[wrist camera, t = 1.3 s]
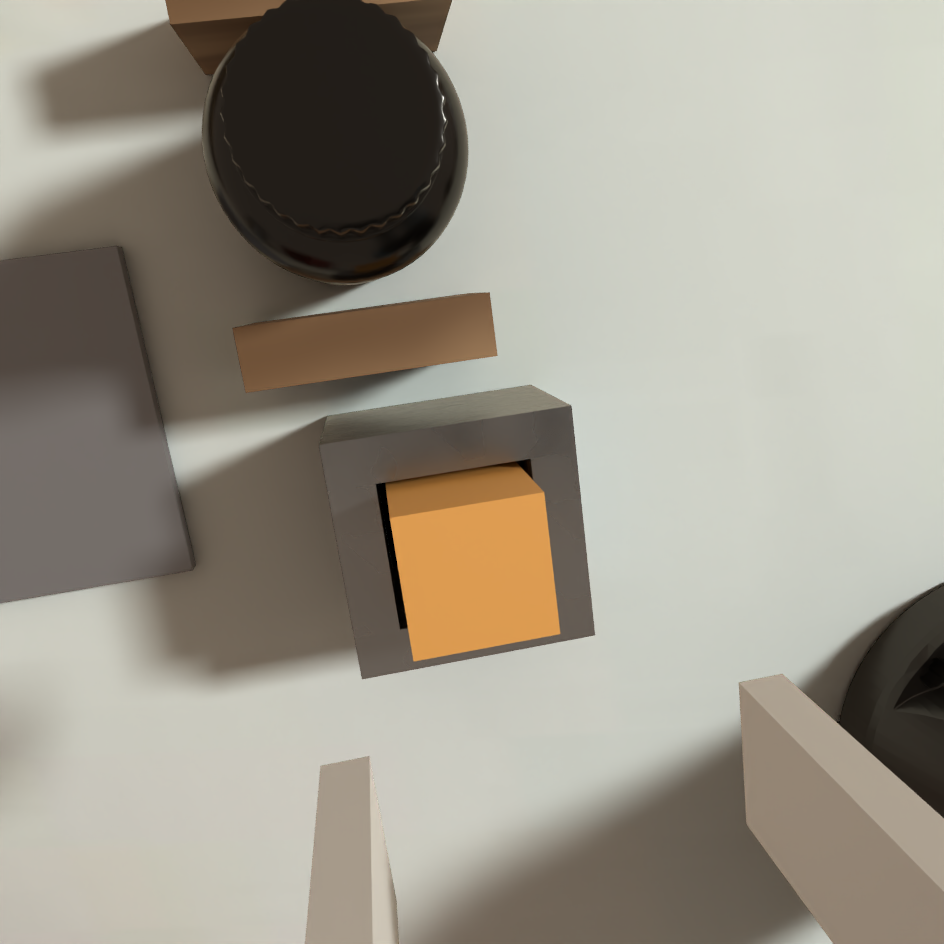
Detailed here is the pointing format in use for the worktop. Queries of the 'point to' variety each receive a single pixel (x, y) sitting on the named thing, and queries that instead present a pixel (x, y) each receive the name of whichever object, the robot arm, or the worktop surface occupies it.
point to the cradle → (358, 330)
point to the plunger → (473, 559)
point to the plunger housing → (439, 451)
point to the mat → (80, 433)
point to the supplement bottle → (335, 141)
